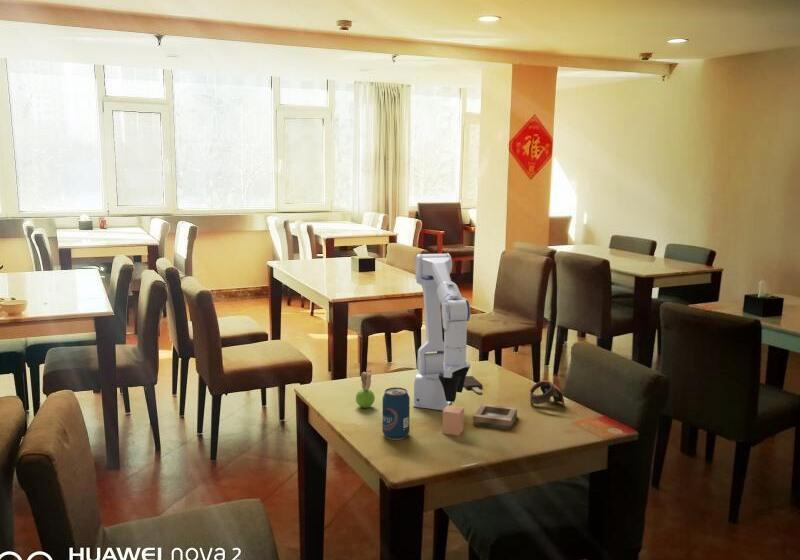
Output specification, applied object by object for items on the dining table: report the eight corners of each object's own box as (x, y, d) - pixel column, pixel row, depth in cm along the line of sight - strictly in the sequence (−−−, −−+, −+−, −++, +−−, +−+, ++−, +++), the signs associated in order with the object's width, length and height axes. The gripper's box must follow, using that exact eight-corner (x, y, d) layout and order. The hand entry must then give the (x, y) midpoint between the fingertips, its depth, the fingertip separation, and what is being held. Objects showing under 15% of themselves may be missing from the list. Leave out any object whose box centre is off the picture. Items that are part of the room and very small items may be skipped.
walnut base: (473, 424, 180) (473, 415, 180) (481, 412, 190) (481, 403, 189) (510, 429, 177) (510, 420, 177) (516, 416, 186) (517, 408, 186)
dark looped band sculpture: (569, 413, 191) (558, 390, 188) (538, 424, 193) (527, 403, 190) (563, 389, 202) (552, 368, 199) (533, 400, 204) (522, 379, 201)
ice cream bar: (488, 394, 205) (471, 379, 220) (488, 389, 205) (471, 374, 219) (471, 396, 204) (456, 381, 219) (471, 390, 204) (456, 376, 218)
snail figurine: (361, 412, 189) (360, 371, 187) (353, 405, 195) (352, 365, 193) (378, 410, 191) (378, 369, 189) (370, 402, 197) (370, 363, 195)
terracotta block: (442, 433, 175) (442, 411, 174) (446, 427, 179) (447, 405, 178) (459, 435, 173) (459, 413, 172) (463, 429, 178) (463, 407, 177)
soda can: (376, 436, 173) (376, 391, 171) (394, 428, 178) (394, 384, 176) (397, 443, 168) (397, 397, 166) (414, 435, 173) (415, 390, 171)
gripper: (463, 354, 164) (462, 407, 167) (476, 340, 178) (475, 389, 180) (435, 351, 167) (435, 404, 169) (451, 338, 180) (450, 386, 182)
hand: (454, 396), depth 175 cm, fingers open, 7 cm apart
